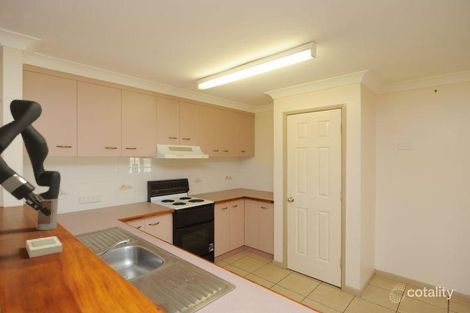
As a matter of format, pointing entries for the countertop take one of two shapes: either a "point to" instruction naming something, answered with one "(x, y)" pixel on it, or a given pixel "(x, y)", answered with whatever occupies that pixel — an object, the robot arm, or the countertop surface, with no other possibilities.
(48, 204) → the walnut block
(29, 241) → the plinth
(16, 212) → the countertop surface
